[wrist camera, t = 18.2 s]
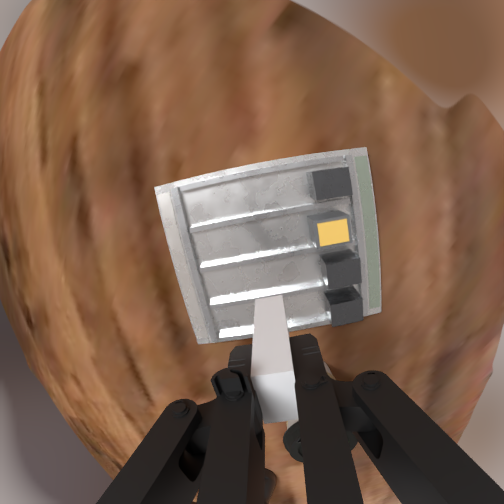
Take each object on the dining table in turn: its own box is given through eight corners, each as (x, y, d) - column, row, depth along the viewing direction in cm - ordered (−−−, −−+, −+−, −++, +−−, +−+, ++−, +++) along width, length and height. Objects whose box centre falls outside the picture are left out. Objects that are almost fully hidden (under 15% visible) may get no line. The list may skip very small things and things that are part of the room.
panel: (201, 336, 40) (192, 360, 34) (159, 186, 34) (141, 189, 28) (376, 305, 38) (391, 326, 32) (360, 148, 32) (379, 144, 26)
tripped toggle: (310, 240, 33) (317, 249, 29) (306, 215, 32) (313, 221, 28) (342, 234, 33) (353, 243, 29) (339, 210, 32) (349, 215, 28)
